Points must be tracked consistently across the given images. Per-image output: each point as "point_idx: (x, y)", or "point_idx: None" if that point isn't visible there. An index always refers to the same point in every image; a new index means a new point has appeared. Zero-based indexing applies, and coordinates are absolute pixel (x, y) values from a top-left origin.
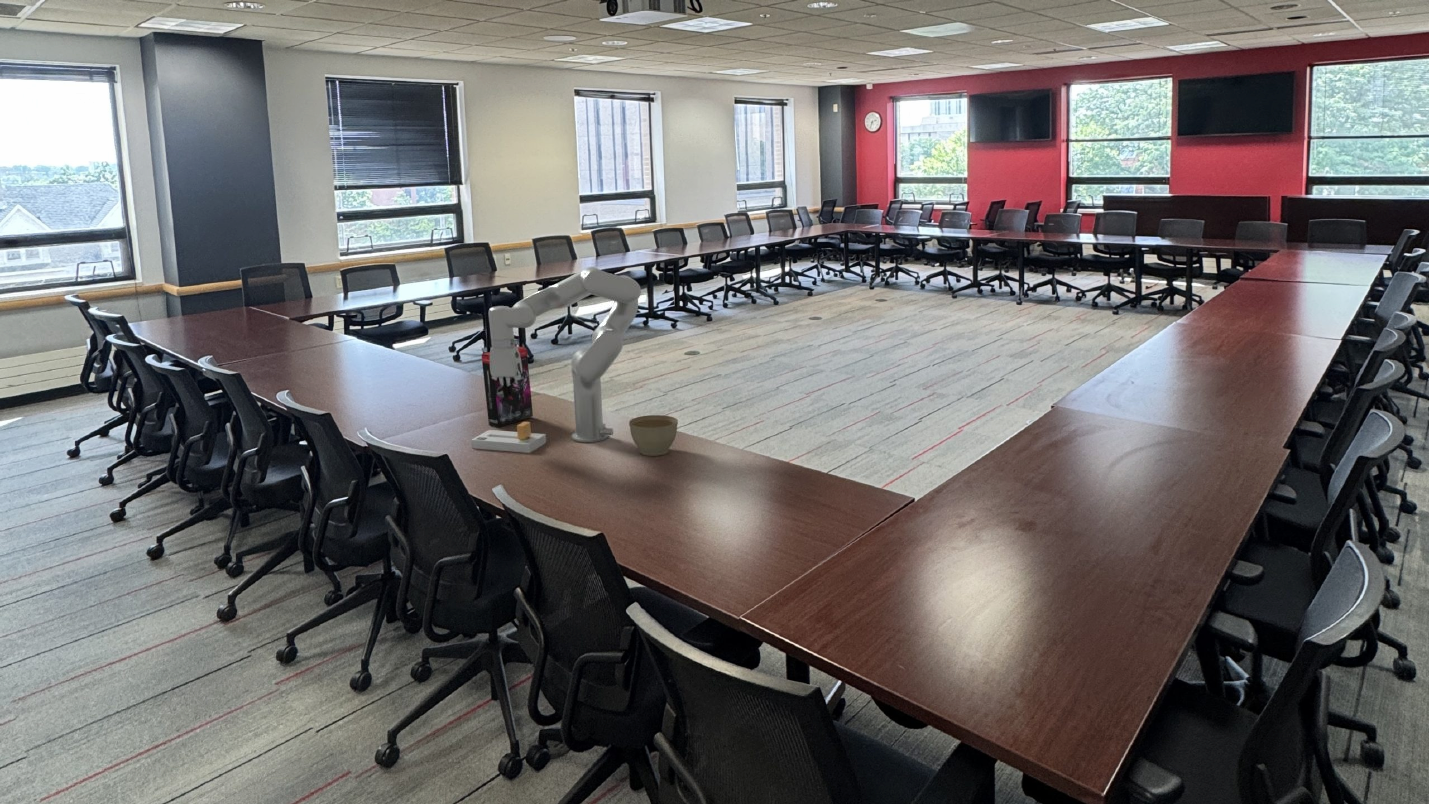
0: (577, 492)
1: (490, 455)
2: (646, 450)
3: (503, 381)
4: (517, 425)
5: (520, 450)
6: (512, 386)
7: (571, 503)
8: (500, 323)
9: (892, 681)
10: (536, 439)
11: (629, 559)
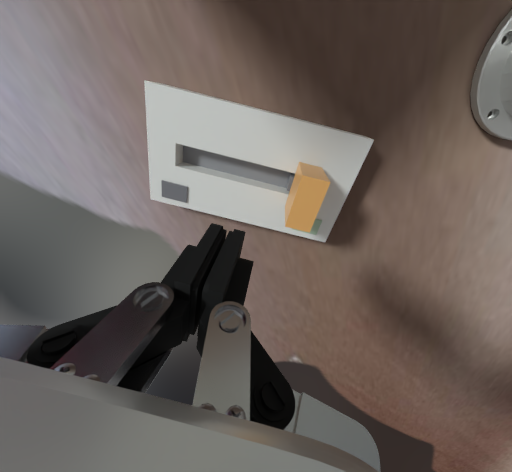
0: (410, 385)
1: None
2: None
3: (156, 370)
4: (287, 224)
5: None
6: (244, 299)
7: (397, 404)
8: None
9: None
10: (342, 201)
11: (434, 465)
